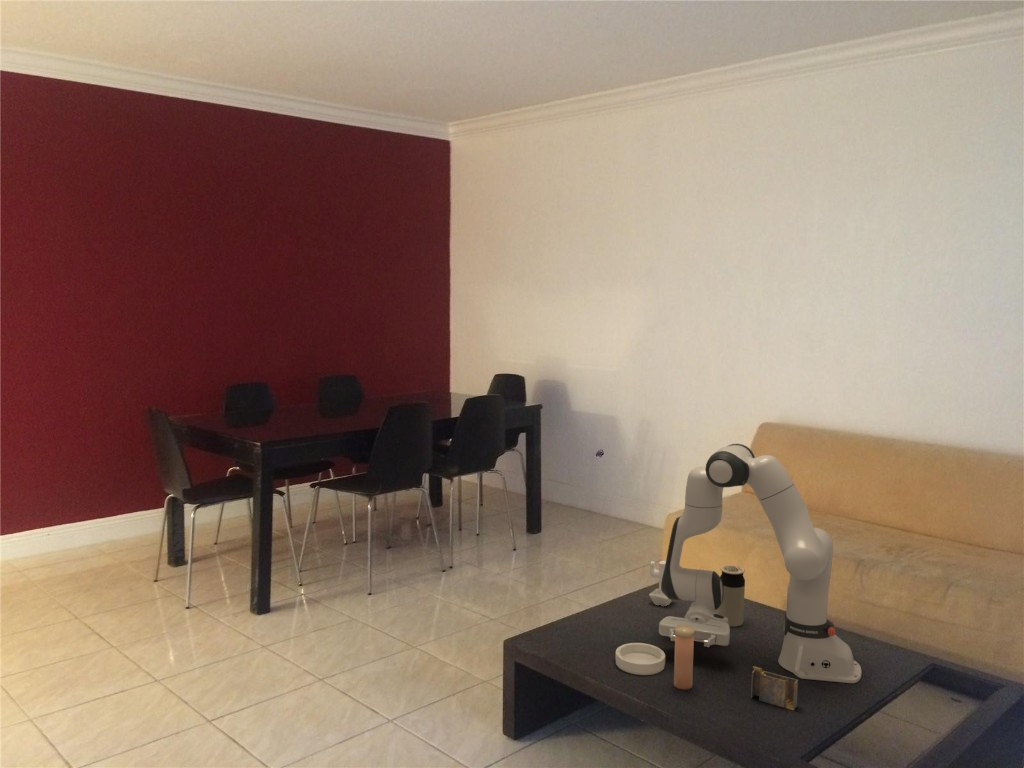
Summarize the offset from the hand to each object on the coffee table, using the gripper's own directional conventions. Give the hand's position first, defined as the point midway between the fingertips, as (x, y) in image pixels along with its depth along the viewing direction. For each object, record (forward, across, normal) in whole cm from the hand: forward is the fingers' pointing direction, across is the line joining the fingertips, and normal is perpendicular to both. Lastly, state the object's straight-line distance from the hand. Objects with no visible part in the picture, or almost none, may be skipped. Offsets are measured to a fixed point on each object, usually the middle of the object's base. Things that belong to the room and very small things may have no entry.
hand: (689, 641), depth 235 cm
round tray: (+1, -14, +9) cm, 17 cm away
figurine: (-47, -18, +9) cm, 51 cm away
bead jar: (+9, 0, +9) cm, 12 cm away
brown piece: (+8, +24, +10) cm, 27 cm away
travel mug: (-40, +6, +9) cm, 42 cm away
